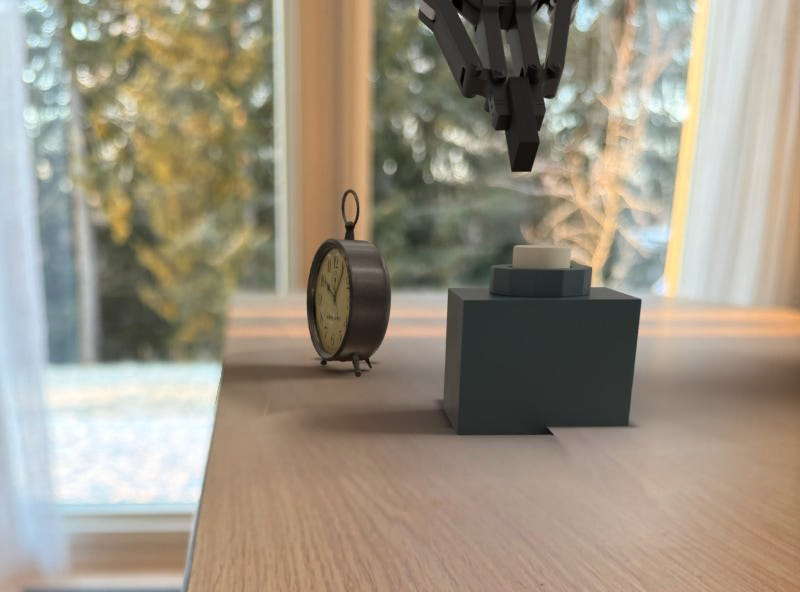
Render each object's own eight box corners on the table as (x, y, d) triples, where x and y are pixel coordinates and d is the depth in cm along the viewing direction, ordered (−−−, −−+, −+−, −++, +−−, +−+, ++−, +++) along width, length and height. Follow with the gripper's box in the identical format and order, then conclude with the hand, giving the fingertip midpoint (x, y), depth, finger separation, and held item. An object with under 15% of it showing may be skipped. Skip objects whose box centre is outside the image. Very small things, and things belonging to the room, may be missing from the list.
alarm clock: (303, 365, 106) (301, 189, 100) (353, 362, 108) (354, 189, 101) (346, 381, 97) (347, 188, 90) (399, 377, 98) (404, 188, 92)
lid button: (562, 270, 77) (564, 244, 76) (574, 274, 73) (577, 247, 72) (507, 270, 77) (509, 244, 76) (517, 274, 73) (518, 247, 72)
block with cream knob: (594, 408, 84) (608, 261, 79) (627, 435, 74) (645, 270, 70) (443, 409, 84) (448, 262, 79) (457, 436, 74) (464, 271, 70)
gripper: (555, -17, 90) (597, 196, 81) (403, -19, 89) (429, 197, 80) (579, -108, 83) (629, 114, 74) (415, -111, 82) (445, 114, 73)
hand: (525, 157), depth 77 cm, fingers closed
